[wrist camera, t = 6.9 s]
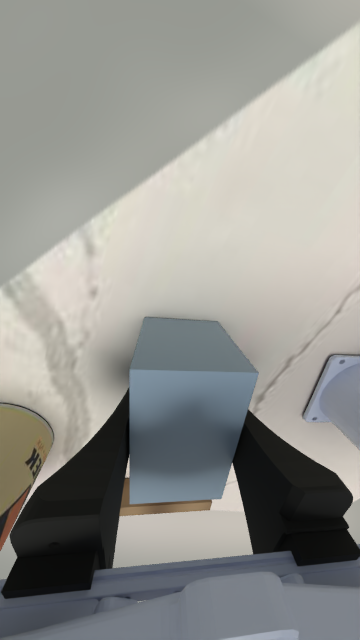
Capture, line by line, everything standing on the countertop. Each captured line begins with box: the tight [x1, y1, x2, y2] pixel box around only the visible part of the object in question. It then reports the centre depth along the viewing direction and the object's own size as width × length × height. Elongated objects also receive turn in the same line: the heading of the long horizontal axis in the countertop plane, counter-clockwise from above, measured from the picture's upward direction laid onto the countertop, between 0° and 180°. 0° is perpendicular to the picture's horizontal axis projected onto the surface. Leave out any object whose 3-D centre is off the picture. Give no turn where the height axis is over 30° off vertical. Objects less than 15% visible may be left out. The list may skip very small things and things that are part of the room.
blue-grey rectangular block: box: [130, 317, 259, 504], centre depth 13 cm, size 6×10×7 cm, turn 175°
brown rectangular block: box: [119, 478, 212, 516], centre depth 20 cm, size 10×2×2 cm, turn 85°
